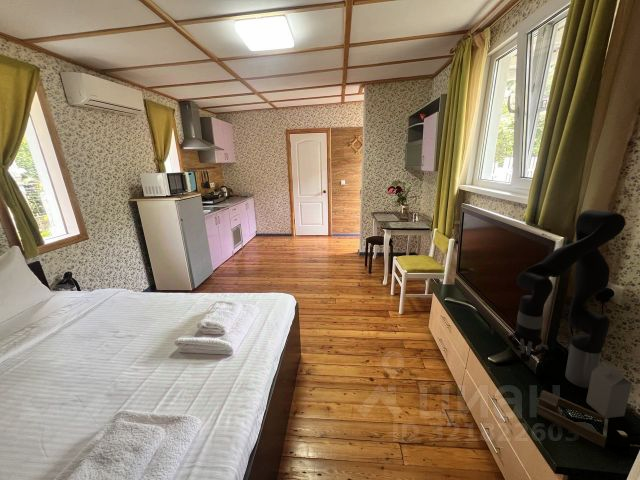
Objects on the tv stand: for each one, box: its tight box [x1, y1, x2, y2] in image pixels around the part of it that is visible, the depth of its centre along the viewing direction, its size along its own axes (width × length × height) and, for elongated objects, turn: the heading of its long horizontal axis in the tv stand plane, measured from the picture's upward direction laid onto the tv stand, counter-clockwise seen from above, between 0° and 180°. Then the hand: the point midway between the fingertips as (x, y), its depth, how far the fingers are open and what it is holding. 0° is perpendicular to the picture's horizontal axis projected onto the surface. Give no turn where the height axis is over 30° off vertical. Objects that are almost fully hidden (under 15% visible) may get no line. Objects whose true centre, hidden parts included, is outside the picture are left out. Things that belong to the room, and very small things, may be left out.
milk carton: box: [585, 361, 633, 419], centre depth 97 cm, size 7×7×19 cm
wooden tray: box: [535, 389, 609, 448], centre depth 97 cm, size 10×18×4 cm, turn 41°
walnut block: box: [537, 390, 559, 413], centre depth 101 cm, size 5×5×4 cm
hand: (524, 360), depth 104 cm, fingers closed
